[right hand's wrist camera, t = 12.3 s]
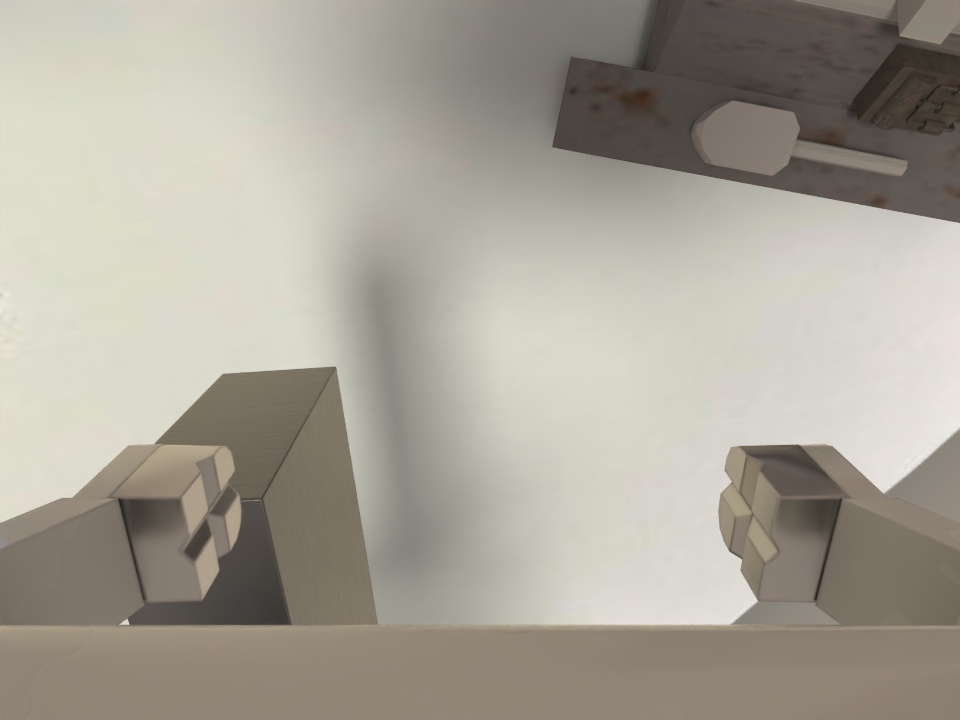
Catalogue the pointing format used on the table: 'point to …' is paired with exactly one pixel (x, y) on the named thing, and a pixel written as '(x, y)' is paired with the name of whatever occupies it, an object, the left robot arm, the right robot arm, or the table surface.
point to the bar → (280, 505)
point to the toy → (787, 99)
